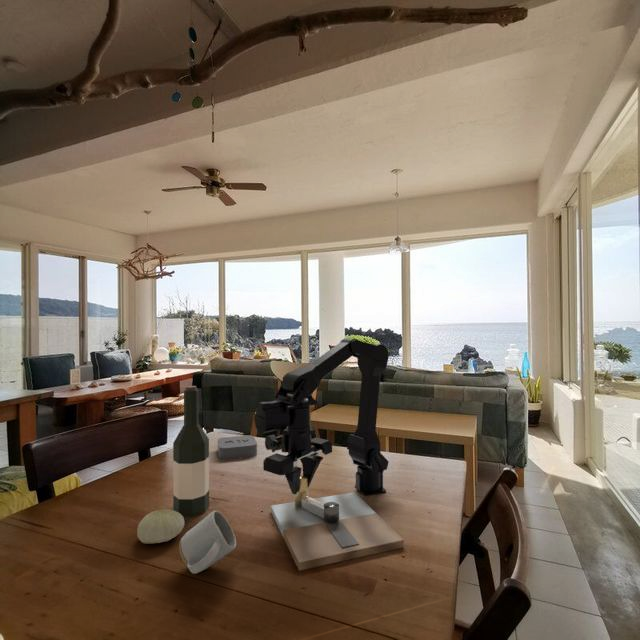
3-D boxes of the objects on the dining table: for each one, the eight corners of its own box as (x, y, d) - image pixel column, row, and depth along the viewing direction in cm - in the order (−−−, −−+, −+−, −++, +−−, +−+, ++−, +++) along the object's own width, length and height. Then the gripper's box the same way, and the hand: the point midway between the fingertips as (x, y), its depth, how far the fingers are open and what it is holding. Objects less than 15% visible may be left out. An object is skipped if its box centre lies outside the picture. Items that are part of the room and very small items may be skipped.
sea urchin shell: (171, 538, 78) (145, 508, 79) (148, 566, 79) (122, 536, 80) (195, 517, 87) (171, 490, 88) (174, 542, 88) (150, 515, 89)
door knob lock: (342, 518, 87) (342, 489, 87) (331, 524, 85) (331, 494, 85) (302, 500, 97) (301, 473, 97) (291, 504, 94) (291, 477, 94)
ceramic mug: (203, 570, 75) (185, 532, 78) (240, 544, 76) (222, 507, 79) (181, 585, 65) (162, 541, 68) (225, 555, 66) (204, 512, 69)
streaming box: (219, 462, 130) (219, 448, 130) (217, 450, 142) (217, 438, 142) (258, 458, 134) (257, 444, 134) (252, 447, 146) (252, 434, 146)
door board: (354, 497, 102) (354, 491, 102) (403, 547, 80) (403, 538, 80) (270, 511, 95) (270, 504, 95) (299, 570, 72) (299, 561, 72)
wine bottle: (216, 505, 99) (215, 385, 99) (192, 520, 91) (192, 390, 91) (190, 499, 102) (190, 383, 102) (165, 513, 94) (165, 388, 95)
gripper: (299, 412, 106) (301, 470, 106) (246, 429, 92) (248, 496, 92) (332, 418, 99) (334, 480, 99) (280, 437, 85) (282, 510, 85)
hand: (300, 490), depth 94 cm, fingers open, 4 cm apart
